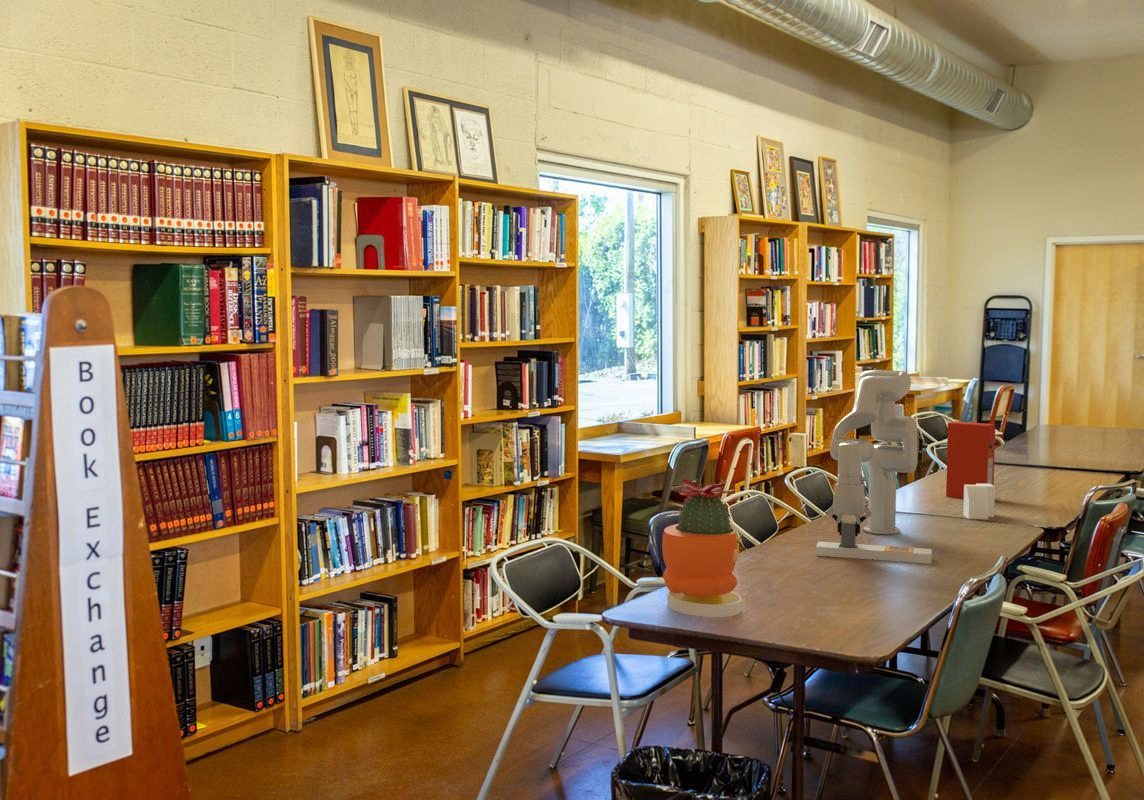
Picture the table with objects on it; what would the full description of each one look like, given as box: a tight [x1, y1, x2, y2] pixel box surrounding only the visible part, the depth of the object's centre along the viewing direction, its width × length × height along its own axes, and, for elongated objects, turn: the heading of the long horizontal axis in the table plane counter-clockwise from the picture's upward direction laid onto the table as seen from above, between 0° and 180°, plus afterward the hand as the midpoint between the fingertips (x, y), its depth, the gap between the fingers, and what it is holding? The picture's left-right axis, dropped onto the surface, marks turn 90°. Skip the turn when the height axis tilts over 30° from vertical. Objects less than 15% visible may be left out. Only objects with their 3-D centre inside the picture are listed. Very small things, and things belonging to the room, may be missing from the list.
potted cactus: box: [661, 479, 742, 618], centre depth 292 cm, size 22×22×35 cm
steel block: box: [840, 520, 857, 548], centre depth 357 cm, size 4×4×8 cm
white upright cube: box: [962, 483, 996, 520], centre depth 423 cm, size 11×11×12 cm
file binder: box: [945, 421, 996, 500], centre depth 463 cm, size 8×17×32 cm, turn 47°
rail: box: [815, 541, 933, 565], centre depth 355 cm, size 8×36×3 cm, turn 71°
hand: (848, 534), depth 357 cm, fingers closed on steel block, 4 cm apart
